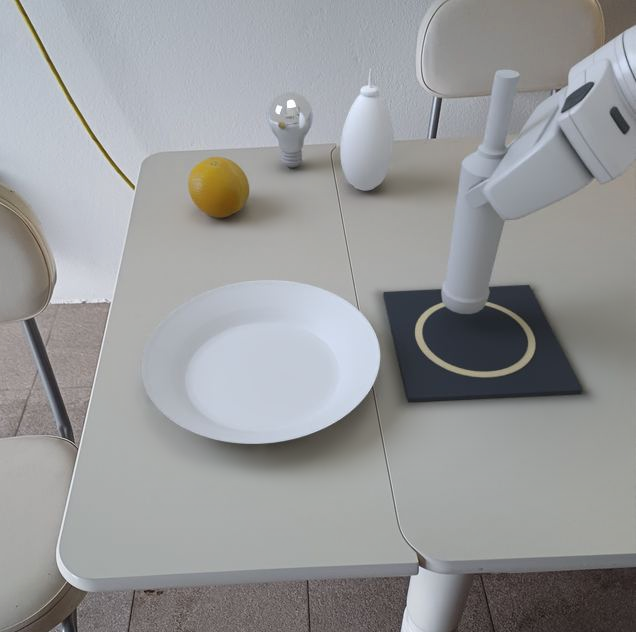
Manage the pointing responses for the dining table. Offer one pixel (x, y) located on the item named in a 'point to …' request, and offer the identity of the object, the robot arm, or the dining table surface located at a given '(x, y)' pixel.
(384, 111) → the sauce bottle
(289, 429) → the white plate
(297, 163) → the light bulb
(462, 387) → the mat
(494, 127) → the bottle
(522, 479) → the dining table surface
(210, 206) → the fruit
